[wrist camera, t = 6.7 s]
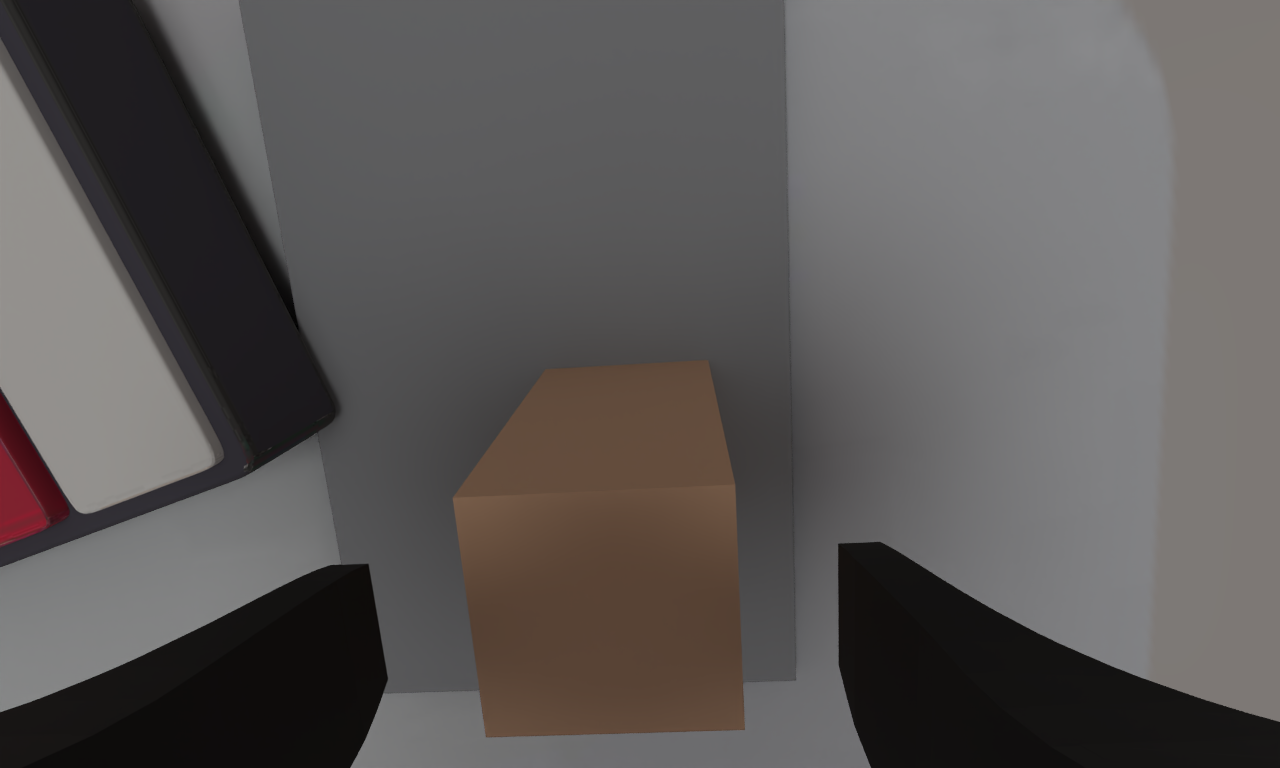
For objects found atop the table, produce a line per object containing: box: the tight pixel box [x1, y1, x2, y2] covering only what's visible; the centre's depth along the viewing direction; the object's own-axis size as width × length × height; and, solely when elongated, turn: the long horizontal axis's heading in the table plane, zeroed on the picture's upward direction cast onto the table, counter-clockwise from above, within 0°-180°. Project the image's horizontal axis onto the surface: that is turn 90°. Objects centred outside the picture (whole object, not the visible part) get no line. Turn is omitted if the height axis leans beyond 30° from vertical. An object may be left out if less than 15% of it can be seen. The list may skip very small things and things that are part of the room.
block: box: [453, 360, 745, 737], centre depth 15 cm, size 4×4×8 cm
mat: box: [239, 0, 796, 693], centre depth 19 cm, size 18×12×1 cm, turn 4°
